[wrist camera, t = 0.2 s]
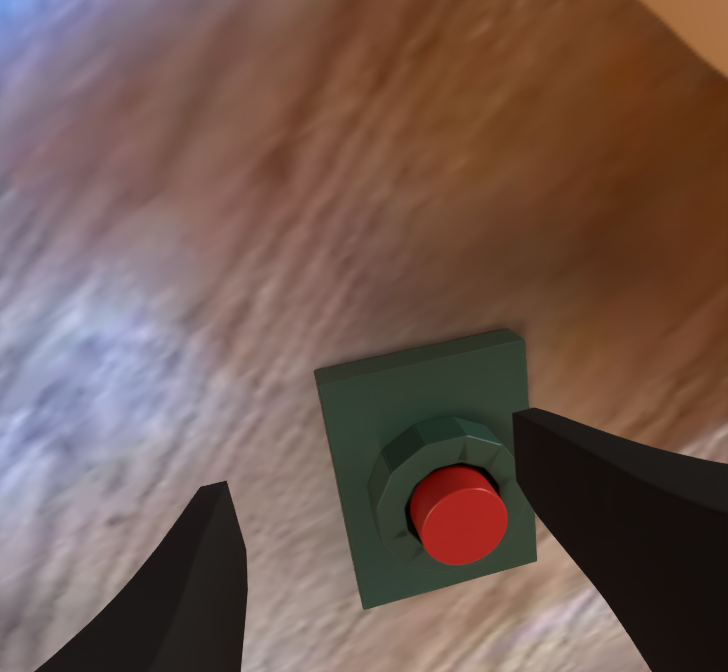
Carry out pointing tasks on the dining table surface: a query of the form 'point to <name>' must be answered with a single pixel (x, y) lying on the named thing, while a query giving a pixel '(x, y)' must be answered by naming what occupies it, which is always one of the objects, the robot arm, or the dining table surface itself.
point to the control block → (424, 454)
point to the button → (458, 515)
